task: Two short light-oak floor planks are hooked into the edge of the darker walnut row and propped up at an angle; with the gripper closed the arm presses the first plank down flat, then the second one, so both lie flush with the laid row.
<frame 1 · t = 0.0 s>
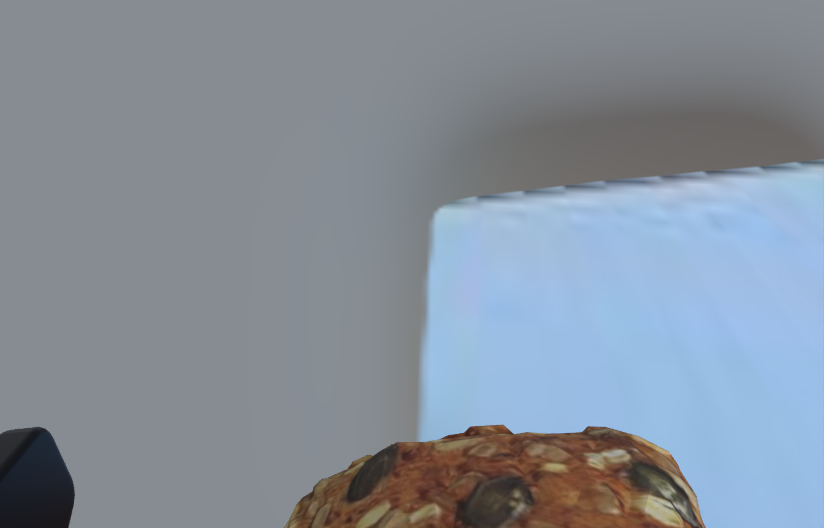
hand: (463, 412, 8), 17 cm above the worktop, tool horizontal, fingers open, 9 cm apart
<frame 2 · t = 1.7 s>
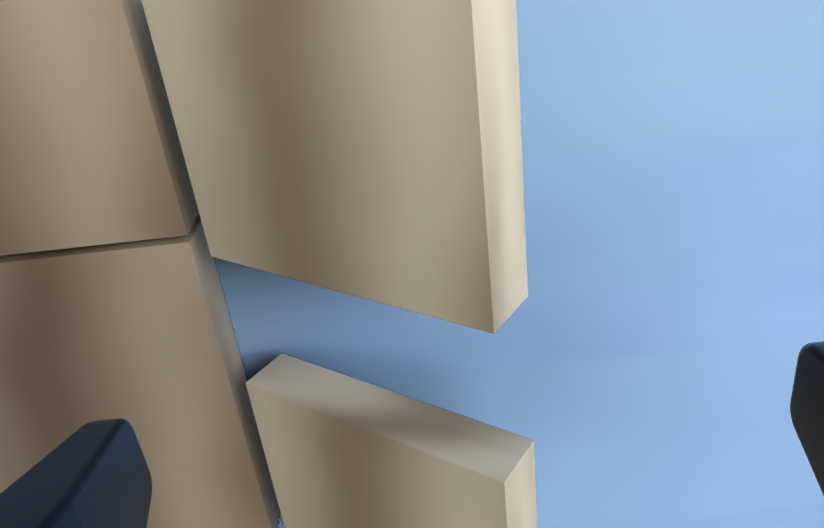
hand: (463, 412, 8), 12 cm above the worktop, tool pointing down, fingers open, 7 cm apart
oak plank 1: (332, 140, 16), point 3 cm above the worktop, hinge at 35.0°
walnut row: (66, 309, 22), on the worktop
oak plank 2: (393, 500, 21), point 3 cm above the worktop, hinge at 35.0°
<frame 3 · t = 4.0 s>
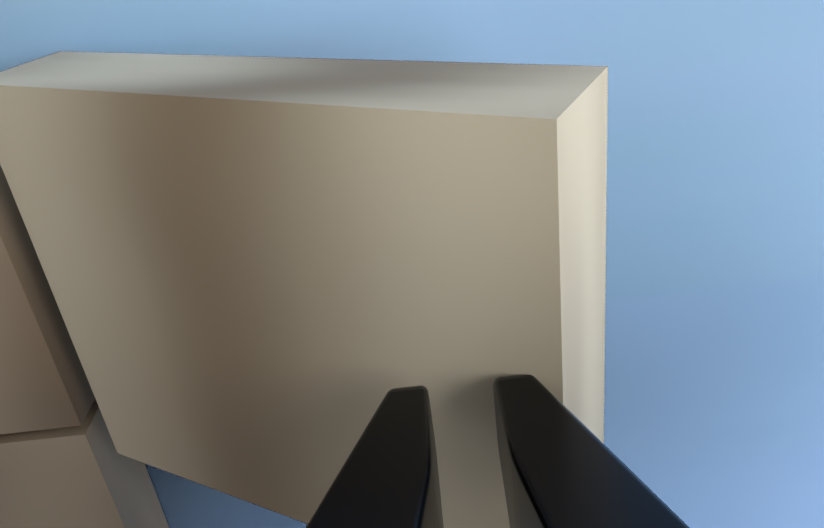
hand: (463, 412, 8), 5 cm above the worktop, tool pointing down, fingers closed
oak plank 1: (294, 313, 10), point 3 cm above the worktop, hinge at 29.8°, touching gripper
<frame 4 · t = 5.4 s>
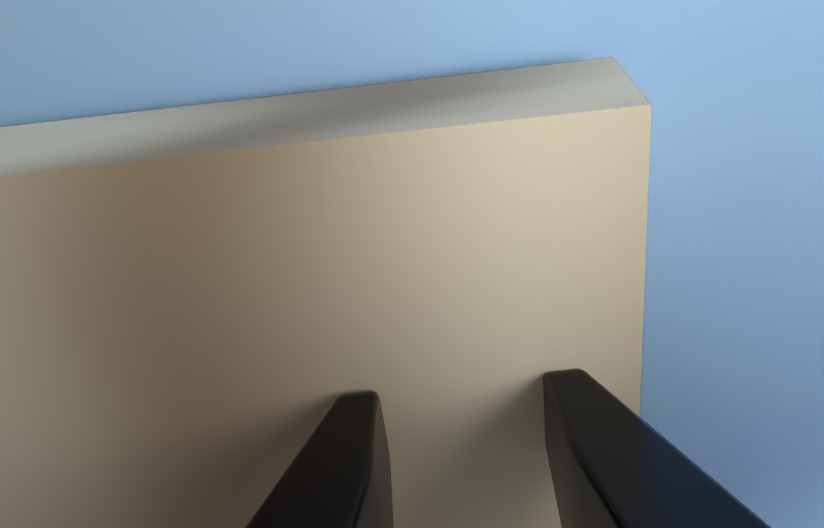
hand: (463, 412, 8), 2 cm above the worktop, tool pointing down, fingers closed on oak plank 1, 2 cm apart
oak plank 1: (279, 388, 9), point 1 cm above the worktop, hinge at 2.9°, touching gripper
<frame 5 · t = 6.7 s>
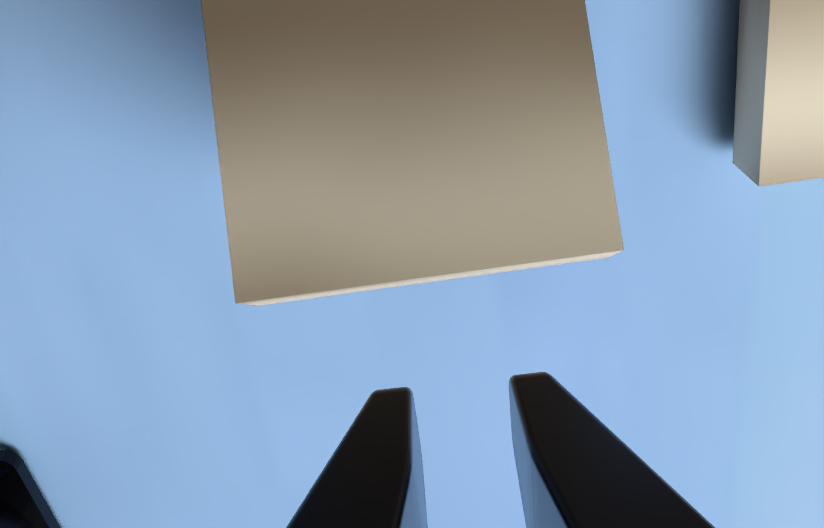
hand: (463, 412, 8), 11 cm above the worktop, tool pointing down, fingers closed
oak plank 2: (399, 59, 14), point 3 cm above the worktop, hinge at 35.0°
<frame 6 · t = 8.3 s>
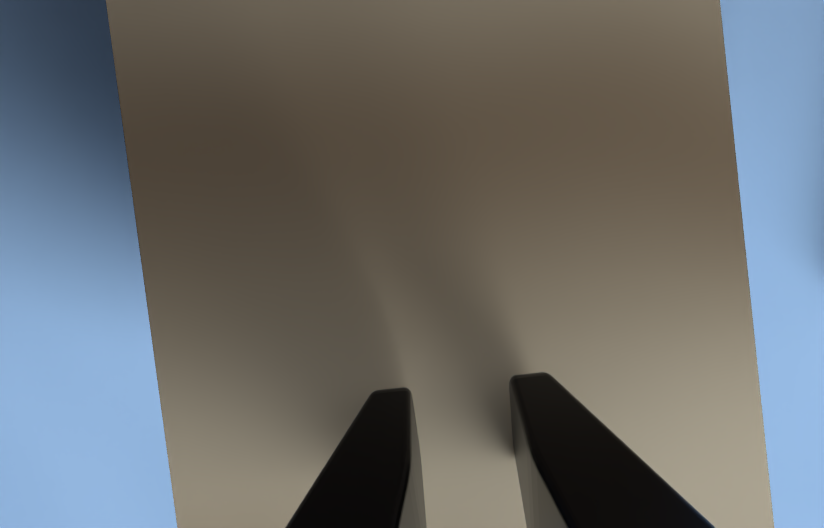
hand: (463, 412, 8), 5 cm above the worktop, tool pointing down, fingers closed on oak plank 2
oak plank 2: (433, 205, 9), point 3 cm above the worktop, hinge at 27.5°, touching gripper
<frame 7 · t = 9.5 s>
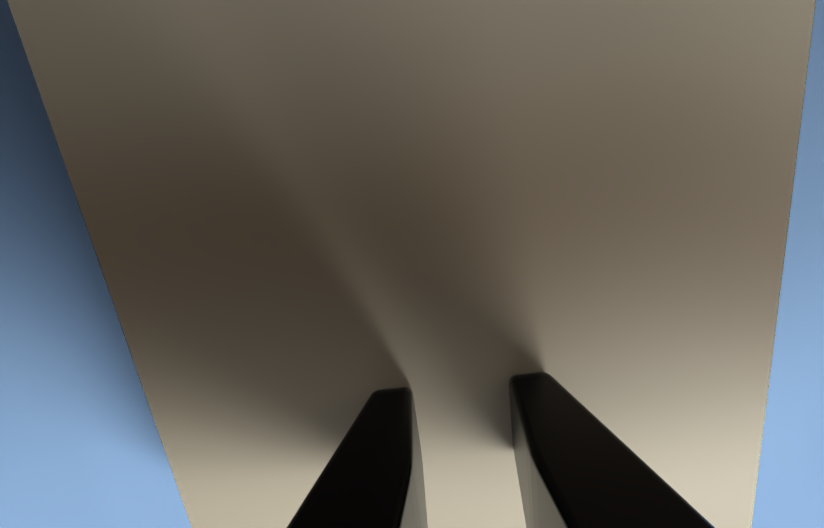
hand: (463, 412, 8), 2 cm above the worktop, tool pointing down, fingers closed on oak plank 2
oak plank 2: (443, 252, 8), point 1 cm above the worktop, hinge at 2.6°, touching gripper
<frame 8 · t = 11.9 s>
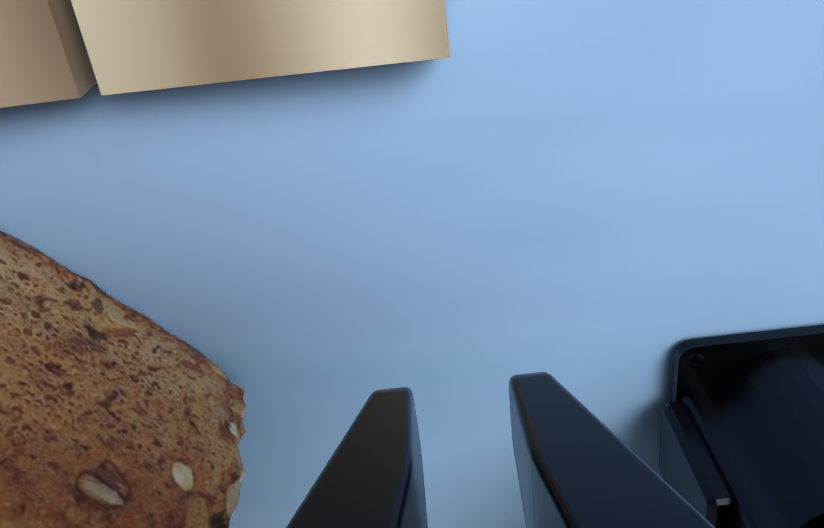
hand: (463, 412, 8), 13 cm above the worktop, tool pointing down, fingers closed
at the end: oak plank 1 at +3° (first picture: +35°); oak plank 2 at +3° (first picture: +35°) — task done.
